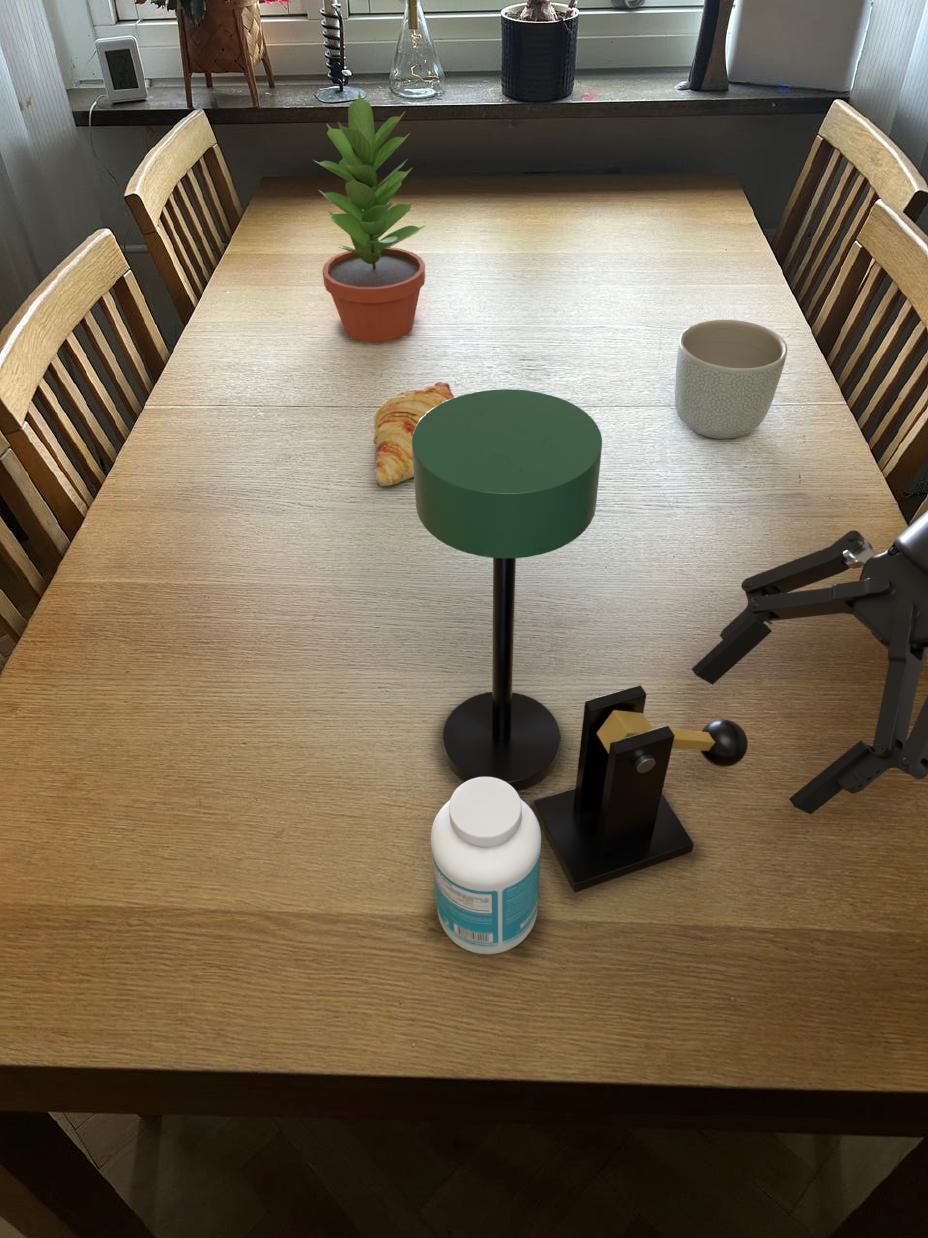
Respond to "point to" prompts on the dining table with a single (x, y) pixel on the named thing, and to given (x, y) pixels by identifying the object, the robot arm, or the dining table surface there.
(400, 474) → the croissant
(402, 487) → the dining table surface
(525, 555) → the desk lamp
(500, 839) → the pill bottle
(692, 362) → the planter
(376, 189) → the potted plant
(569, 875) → the switch bracket
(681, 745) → the lamp switch
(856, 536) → the robot arm
